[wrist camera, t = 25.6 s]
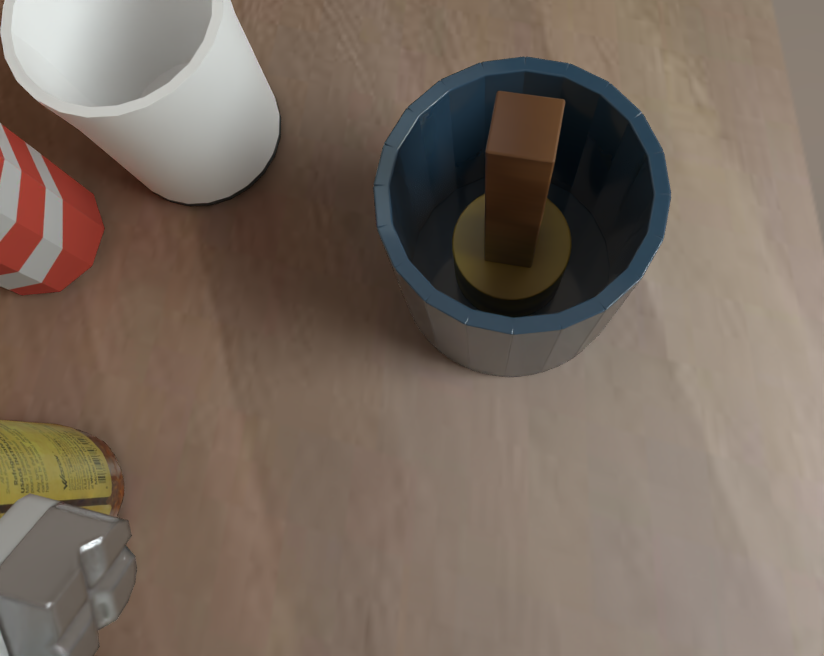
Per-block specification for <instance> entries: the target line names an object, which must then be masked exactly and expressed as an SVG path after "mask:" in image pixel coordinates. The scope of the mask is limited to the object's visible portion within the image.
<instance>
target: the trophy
mask: <svg viewBox="0 0 824 656" xmlns="http://www.w3.org/2000/svg"><path fill="white" fill-rule="evenodd" d="M564 107H565V100H563V99H558V98H550V97H543V96H535V95H528V94H520V93H513V92H506V91H498V92H497V93H496V98H495V103H494V109H493V114H492V119H491V124H490V129H489V135H488V140H487V145H486V150H485V194H483V195H481V196H479V197H478V198H476V199H475V200H474V201H472V202H471V203H470V204H469V205H468V206H467V207H466V208H465V210H464V211H463V212H462V213H461V215H460V217H459V219H458V221H457V223H456V225H455V228H454V232H453V238H452V250H453V259H454V267H455V274H456V279H457V283H458V285H459V287H460V290H461V291H462V293H463V295H464V296H465V297H466V298H467V300H468V301H469V302H470V303H471V304H472V305H473V306H475V307H476V308H477V309H479V310H481V311H484V312H489V313H494V314H499V315H504V316H508V317H523V316H526V315H529V314H531V313H534V312H536V311H537V310H539V309H541V308H542V307H543V306H544V305H546V304H547V303H548V302H549V301H550V300H551V299H552V297H553V296H554V294H555V293H556V291H557V289H558V288H559V285H560V282H561V280H562V277H563V274H564V272H565V269H566V267H567V264H568V261H569V258H570V254H571V234H570V229H569V226H568V223H567V221H566V219H565V217H564V215H563V214H562V213H561V211H560V210H559V209H558V207H557V206H556V205H555V204H554V203H553V202H551V201H550V200H549V199H548V198H547V195H548V191H549V186H550V182H551V177H552V173H553V168H554V164H555V159H556V153H557V147H558V141H559V136H560V130H561V124H562V118H563V112H564Z"/></svg>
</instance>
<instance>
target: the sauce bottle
mask: <svg viewBox="0 0 824 656" xmlns="http://www.w3.org/2000/svg"><path fill="white" fill-rule="evenodd" d="M29 493H30V494H34V495H38V496H42V497H46V498H50V499H53V500H57V501H61V502H64V503H67V504H71V505H75V506H78V507H82V508H86V509H89V510H93V511H96V512H100V513H104V514H107V515H111V516H114V517H117V515H118V512H119V509H120V505H121V503H122V501H123V496H124V480H123V475H122V471H121V468H120V466H119V465H118V462H117V460H116V458H115V455H114V454H113V452H112V451H111V449H110V448H109V447H108V446H107V444H106V443H105V442H103V441H101V440H100V439H98V438H96V437H94V436H92V435H90V434H88V433H86V432H83V431H80V430H77V429H73V428H71V427H67V426H62V425H58V424H49V423H34V422H20V421H9V420H0V518H1V517H2V516H3V515H4V514H5V513H6V512H7V511H8V510H9V508H10V507H11V506H12V505H13V504H14V503H15V502H16V501H17V500H19V499H20V498H22V497H24V496H26V495H28V494H29Z"/></svg>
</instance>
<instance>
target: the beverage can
mask: <svg viewBox="0 0 824 656" xmlns="http://www.w3.org/2000/svg"><path fill="white" fill-rule="evenodd" d="M104 229H105V228H104V225H103V222H102V219H101V216H100V213H99V210H98V206H97V203H96V200H95V197H94V194H92V193H91V192H90V191H88V190H87V189H86V188H84V187H83V186H82V185H81V184H79V183H78V182H77V181H75V180H74V179H73V178H71V177H70V176H69V175H68V174H66V173H65V172H64V171H62V170H61V169H60V168H58V167H57V166H56V165H54V164H53V163H52V162H51V161H49V160H48V159H47V158H45V157H44V156H43V155H41V154H40V153H39V152H37V151H36V150H35V149H34V148H32V147H31V146H30V145H28V144H27V143H26V142H24V141H23V140H22V139H20V138H19V137H18V136H17V135H15V134H14V133H13V132H11V131H10V130H9V129H7V128H6V127H5V126H3V125H2V124H1V123H0V286H1V287H3V288H6V289H8V290H11V291H13V292H15V293H18V294H20V295H30V294H40V293H51V292H60V291H62V290H63V289H64V288H65V287H67V286H68V285H69V284H70V283H71V282H73V281H74V280H75V279H76V278H78V277H79V276H80V275H81V274H83V273H84V272H85V271H86V270H88V269H89V268H90V267H91V266H92V265H93V262H94V259H95V256H96V253H97V250H98V247H99V244H100V241H101V238H102V235H103V232H104Z"/></svg>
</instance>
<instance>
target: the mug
mask: <svg viewBox="0 0 824 656" xmlns="http://www.w3.org/2000/svg"><path fill="white" fill-rule="evenodd" d="M0 34H1V40H2V45H3V51H4V56H5V59H6V61H7V63H8V65H9V67H10V69H11V71H12V73H13V75H14V77H15V79H16V81H17V82H18V83H19V84H20V85H21V86H22V87H23V88H24V89H25V90H26V91H27V92H28V93H29V94H30V95H31V96H32V97H34V98H35V99H36V100H37V101H38V102H39V103H40V104H42V105H43V106H45V107H46V108H48V109H49V110H51V111H52V112H54V113H55V114H56V115H58V116H59V117H61V118H62V119H64V120H65V121H67V122H68V123H70V124H71V125H73V126H74V127H76V128H77V129H79V130H80V131H81V132H82V133H83V134H85V135H86V136H87V137H88V138H89V139H91V140H92V141H93V142H94V143H95V144H97V145H98V146H99V147H100V148H101V149H102V150H104V151H105V152H106V153H107V154H108V155H110V156H111V157H112V158H113V159H114V160H116V161H117V162H118V163H119V164H120V165H122V166H123V167H124V168H125V169H126V170H127V171H129V172H130V173H131V174H132V175H133V176H135V177H136V178H137V179H138V180H139V181H141V182H142V183H143V184H144V185H145V186H146V187H148V188H149V189H150V190H151V191H152V192H154V193H155V194H157V195H159V196H161V197H163V198H165V199H166V200H168V201H170V202H174V203H178V204H183V205H188V206H202V205H213V204H216V203H219V202H223V201H226V200H229V199H232V198H233V197H235V196H237V195H238V194H240V193H242V192H244V191H245V190H247V189H249V188H250V187H251V186H252V185H253V184H254V183H255V182H256V181H257V180H258V179H259V178H260V177H261V176H262V175H263V174H264V173H265V171H266V170H267V168H268V166H269V165H270V163H271V161H272V160H273V158H274V157H275V154H276V150H277V147H278V144H279V140H280V137H281V116H280V113H279V109H278V105H277V101H276V99H275V97H274V95H273V92H272V90H271V88H270V86H269V84H268V82H267V80H266V78H265V76H264V73H263V71H262V69H261V67H260V65H259V63H258V61H257V59H256V56H255V54H254V52H253V50H252V48H251V46H250V44H249V42H248V40H247V37H246V35H245V33H244V31H243V29H242V27H241V25H240V23H239V20H238V18H237V16H236V14H235V12H234V9H233V6H232V3H231V0H5V2H4V5H3V12H2V21H1V30H0Z"/></svg>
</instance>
